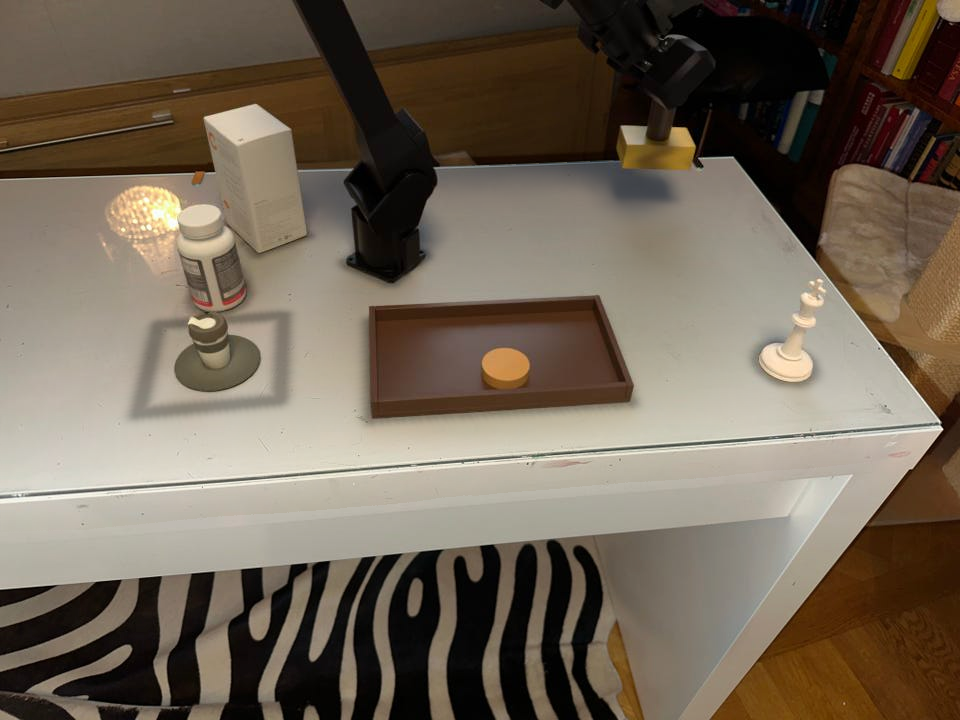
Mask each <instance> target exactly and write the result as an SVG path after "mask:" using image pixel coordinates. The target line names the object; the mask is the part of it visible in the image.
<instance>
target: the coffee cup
mask: <svg viewBox="0 0 960 720" xmlns="http://www.w3.org/2000/svg"><path fill="white" fill-rule="evenodd" d="M187 326H188V327H187V329H188V335H189V337H190V338H191V340H192V343H191V344H190V345H188V346H187V347H185V348H184V349H183V350H182V351H181V352H180V353H179V354H178V356H177V357H176V360H175V362H174V367H173V369H174V371H173V372H174V375H175V377H176V379H177V380H178V381H179V383H180V384H181V385H183V386H184V387H186V388H189V389H190V390H194V391H198V392H199V391H200V392H219V391H223V390H226V389H229V388H232V387H236V386H237V385H240V384H241V383H242V382H245V381H246V380H247V379H248V378H250V377H251V376H252V375H253V374H254V373H255V371H256V370H257V369H258V367H259V365H260V363H261V351H260V348H259V347H258V346H257V344H255V343H254V342H253V341H252V340H251V339H248V338H246V337H244V336H240V335H236V334H229V332H228V331H229V325H228V322H227V320H226V318H225V316H224V315H223V314H222V313H220V312H219V311H218V312H213V311H201V312H199V313H196V314H195V315H193V316H191V317H189V321H188V322H187Z"/></svg>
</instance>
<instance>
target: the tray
mask: <svg viewBox="0 0 960 720" xmlns="http://www.w3.org/2000/svg"><path fill="white" fill-rule="evenodd" d="M368 327H369V328H368V329H369V331H368V333H369V389H370V390H369V391H370V392H369V393H370V397H369V398H370V410H371V418H372V419H384V418H387V419H388V418H401V417H415V416H416V417H417V416H432V415H446V414H447V415H449V414H461V413H462V414H463V413H478V412H493V411H495V412H496V411H507V410H508V411H511V410H524V409H525V410H527V409H541V408H552V407H553V408H555V407H556V408H557V407H570V406H587V405H602V404H616V403H617V404H618V403H620V404H621V403H630V402H631V400H632V397H633V392H634V389H635V384H634V382H633V379H632V376H631V374H630V372H629V369H628V365H627V363H626V361H625V357H624V355H623V353H622V351H621V348H620V345H619V343H618V340H617V337H616V336H615V333H614V330H613V327H612V325H611V322H610V320H609V317H608V314H607V312H606V308H605V306H604V304H603V300H602V299H601V296H600V294H593V295H575V296H574V295H573V296H554V297H553V296H552V297H533V298H532V297H531V298H530V297H529V298H512V299H494V300H493V299H492V300H491V299H489V300H488V299H487V300H471V301H469V300H468V301H467V300H466V301H449V302H428V303H408V304H387V305H369V306H368ZM499 348H510V349H515V350H517V351H519V352H521V353H523V354H524V355H525V356H526V357H527V358H528V360H529V363H530V369H529V377H528V380H527V381H526V382H525V383H524V384H523V385H522V386H520V387H518V388H514V389H497V388H494V387H492V386H490V385H489V384H487V383H486V382H485V381H484V379H483V377H482V374H481V368H482V360H483V358H484V356H485V355H486V354H487V353H488V352H490V351H492V350H494V349H499Z"/></svg>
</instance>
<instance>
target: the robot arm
mask: <svg viewBox="0 0 960 720" xmlns="http://www.w3.org/2000/svg"><path fill="white" fill-rule="evenodd" d="M538 1H540V2H541V3H542V4H544V5H546V6H547V7H548V8H551V9H552V10H557V9H558V8H559V7H560V6H561V5H562V4H563V2H565V0H538ZM566 1H567V3H568V5H569V6H571V8H572V9H573V11H574V12H575V13H576V15H578V18H580V19H581V20H580V21H579V25H578V30H577V31H578V32H577V39H578V40H579V41H580V42H581V44H582V45H583V47H584V48H585V49H587V50H588V51H589V52H591V53H592V54H593V55H595V56H596V57H597V56H598V55H599V54H600V53H601V52H602V53H603V54H604V55H605V56H606V57H607V58H606V60H605V63H606V65H607V66H608V67H610V68H611V69H613V70H614V71H615V72H617V73H618V74H621V75H623V76H625V77H627V78H629V79H631V80H633V81H635V82H637V83H638V84H637V85H636V88H637V89H638V90H640V91H642V93H644V94H645V95H647V96H648V97H651V98H652V99H654V100H655V101H656V102H658V103H659V104H660V105H662V106H663V107H664V108H666V109H667V110H672V109H675V108H676V109H677V108H678V107H679V106H683V104H685V103H686V102H687V100H688V96H689V95H690V94H691V93H692V92H693V91H694V90H695V89H697V87H698V86H699V85H700V84H701V83H703V81H704V80H705V79H706V78H707V77H708V76H709V75H710V74H711V73H712V72H713V71H714V70H715V69H716V64H717V62H716V60H715V58H714V57H713V55H712V54H711V52H710V51H709V50H708V49H707V48H706V47H704V46H703V45H701V44H699V43H698V42H696V41H695V40H693V39H691V38H690V37H688V38H682V39H677V40H676V39H674V38H673V37H667V38H665V37H664V38H661V36H667V34H668V33H669V32H670V31H671V29H673V27H674V25H673V23H672V22H671V19H673V18H676V17H677V16H679V15H680V14H682V13H684V12H685V11H687V10H689V9H690V8H692V7H694V6H695V7H697V6H699V5H700V4H702V3H703V2H704V0H566ZM291 2H292V3H293V6H294V8H295V10H296V11H297V13H298V15H299V18H300V19H301V21H302V23H303V25H304V27H305V29H306V31H307V33H308V34H309V37H310V39H311V41H312V43H313V45H314V47H315V48H316V51H317V53H318V54H319V56H320V58H321V60H322V62H323V65H324V66H325V68H326V70H327V72H328V73H329V76H330V78H331V81H332V82H333V84H334V86H335V87H336V89H337V92H338V94H339V96H340V98H341V99H342V101H343V104H344V106H345V107H346V109H347V111H348V113H349V115H350V117H351V119H352V122H353V125H354V126H353V127H354V132H355V141H356V145H357V148H358V151H359V154H360V158H361V159H360V160H359V161H358V163H357V164H356V165H355V166H354V167H353V169H352V170H351V171H350V172H349V174H348V175H347V176H346V177H345V178H344V179H343V186H344V187H345V189H346V190H347V193H348V195H349V196H350V198H351V199H352V200H353V201H354V203H355V205H354V206H352V207H351V208H350V212H351V222H352V232H353V243H354V244H353V245H354V252H353V253H352V254H350V255H349V256H348V257H346V258H345V263H346V265H348V266H350V267H353V268H355V269H358V270H359V271H362V272H364V273H367V274H369V275H371V276H373V277H377V278H379V279H380V280H383V281H385V282H387V283H395V282H396V281H397V280H398V279H399V278H401V277H402V276H403V275H404V274H405V273H407V272H408V271H410V270H411V269H412V268H413V267H415V266H416V265H417V264H418V263H419V262H420V261H422V260H423V259H424V258H425V257H426V255H427V254H426V253H427V252H426V250H424V249H423V248H420V247H421V244H420V243H421V240H420V239H421V238H420V229H419V225H420V223H421V219H422V217H423V213H424V211H425V207H426V205H427V203H428V202H427V201H428V200H429V199H430V197H431V196H432V195H433V193H434V191H435V188H436V187H437V186H438V174H437V170H436V169H435V168H440V167H441V163H439V161H438V159H436V158H435V156H434V154H432V151H431V148H430V144H429V140H428V139H429V138H428V136H427V133H426V132H425V130H424V129H423V127H421V126H420V124H418V122H417V121H416V120H415V119H414V118H413V117H412V115H411V114H410V113H409V112H408V111H407V110H406V108H404V107H402V108H401V109H399V110H398V111H397V112H396V113H395V110H394V109H393V105H392V104H391V102H390V99H389V97H388V95H387V93H386V90H385V89H384V86H383V84H382V82H381V80H380V78H379V75H378V73H377V71H376V68H375V67H374V65H373V62H372V60H371V58H370V56H369V54H368V51H367V49H366V48H365V47H366V46H365V45H364V43H363V40H362V38H361V36H360V34H359V32H358V29H357V28H356V25H355V23H354V21H353V18H352V17H351V14H350V12H349V10H348V8H347V5H346V3H345V1H344V0H291ZM598 43H600V46H598V45H597V44H598Z"/></svg>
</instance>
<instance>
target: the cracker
mask: <svg viewBox="0 0 960 720" xmlns="http://www.w3.org/2000/svg"><path fill="white" fill-rule="evenodd" d="M529 369H530V363H529V360H528V358H527V357H526V356H525V355H524V354H523V353H521V352H519V351H517V350H515V349H510V348H499V349H494V350H492V351H490V352H488V353H487V354H486V355H485V356H484V358H483V360H482V368H481V374H482V377H483V379H484V381H485V382H486V383H487V384H489V385H490V386H492V387H494V388H497V389H514V388H518V387H520V386H522V385H523V384H524V383H525V382H526V381H527V380H528V377H529Z"/></svg>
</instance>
